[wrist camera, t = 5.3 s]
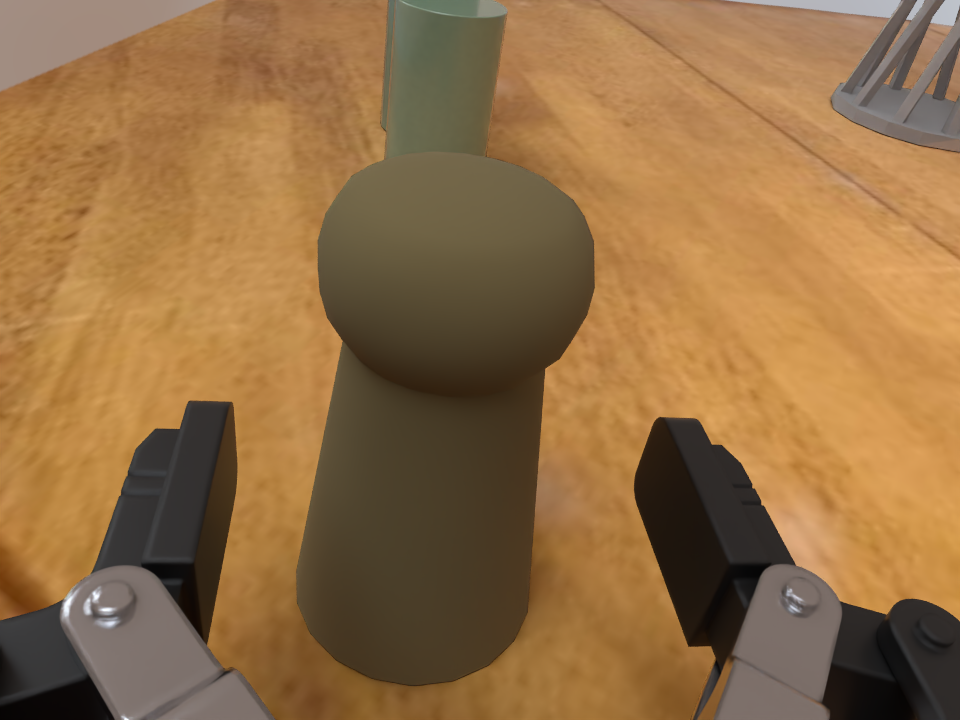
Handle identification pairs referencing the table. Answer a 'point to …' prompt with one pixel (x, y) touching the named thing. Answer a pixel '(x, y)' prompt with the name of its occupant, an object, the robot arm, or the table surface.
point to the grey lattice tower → (892, 104)
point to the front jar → (443, 75)
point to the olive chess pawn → (436, 408)
